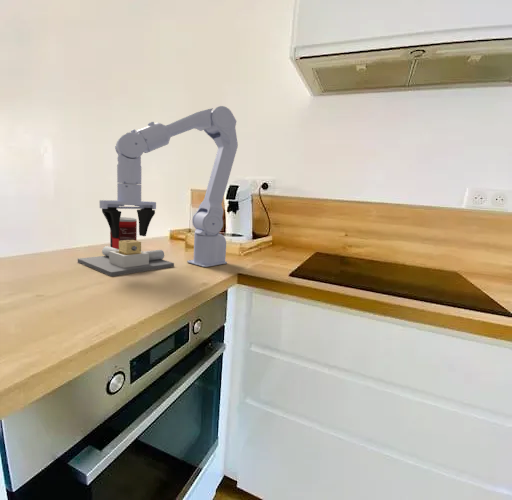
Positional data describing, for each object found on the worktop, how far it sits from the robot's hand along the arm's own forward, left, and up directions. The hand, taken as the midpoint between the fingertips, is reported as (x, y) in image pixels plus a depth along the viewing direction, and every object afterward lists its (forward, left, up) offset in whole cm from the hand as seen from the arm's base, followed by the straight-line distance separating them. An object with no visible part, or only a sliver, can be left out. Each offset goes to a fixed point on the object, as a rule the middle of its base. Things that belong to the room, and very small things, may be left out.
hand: (129, 236), depth 83 cm
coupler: (0, 0, -7) cm, 7 cm away
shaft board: (-1, -3, -8) cm, 9 cm away
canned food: (-9, -19, -8) cm, 23 cm away
